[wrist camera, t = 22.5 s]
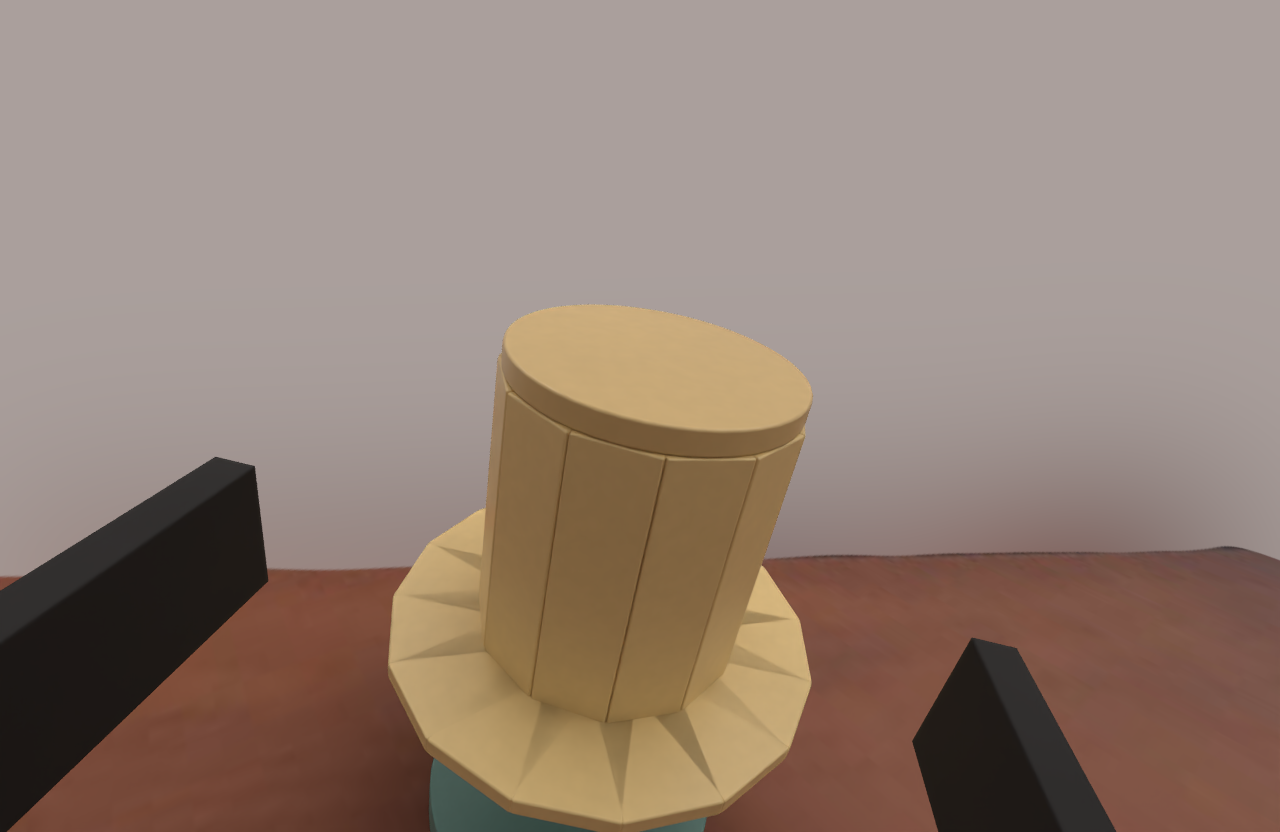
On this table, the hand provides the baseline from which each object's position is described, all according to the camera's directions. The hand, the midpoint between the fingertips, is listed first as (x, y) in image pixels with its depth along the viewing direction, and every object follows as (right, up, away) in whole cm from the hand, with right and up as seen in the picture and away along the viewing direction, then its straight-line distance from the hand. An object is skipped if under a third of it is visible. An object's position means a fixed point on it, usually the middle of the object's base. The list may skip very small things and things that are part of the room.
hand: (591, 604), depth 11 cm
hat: (0, -4, +12) cm, 12 cm away
